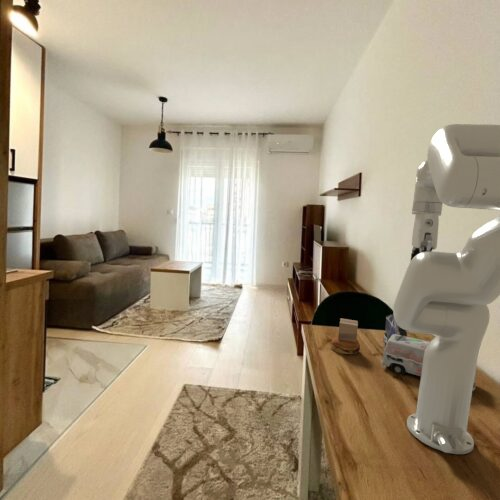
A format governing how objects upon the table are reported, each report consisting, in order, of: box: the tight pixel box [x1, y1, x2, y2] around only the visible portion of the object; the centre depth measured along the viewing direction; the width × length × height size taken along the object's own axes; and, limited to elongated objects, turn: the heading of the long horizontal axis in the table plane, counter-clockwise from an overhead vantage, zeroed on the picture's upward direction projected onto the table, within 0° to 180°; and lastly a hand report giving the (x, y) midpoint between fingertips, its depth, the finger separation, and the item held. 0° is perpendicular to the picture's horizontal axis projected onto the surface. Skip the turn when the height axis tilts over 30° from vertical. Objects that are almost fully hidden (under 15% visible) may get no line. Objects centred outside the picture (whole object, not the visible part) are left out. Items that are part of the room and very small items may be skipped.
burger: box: [330, 335, 361, 355], centre depth 115 cm, size 10×9×5 cm
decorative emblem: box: [382, 313, 408, 348], centre depth 117 cm, size 12×2×15 cm, turn 1°
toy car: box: [381, 334, 477, 392], centre depth 99 cm, size 11×25×10 cm, turn 57°
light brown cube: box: [337, 318, 359, 343], centre depth 115 cm, size 6×6×6 cm
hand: (419, 268), depth 95 cm, fingers open, 9 cm apart
